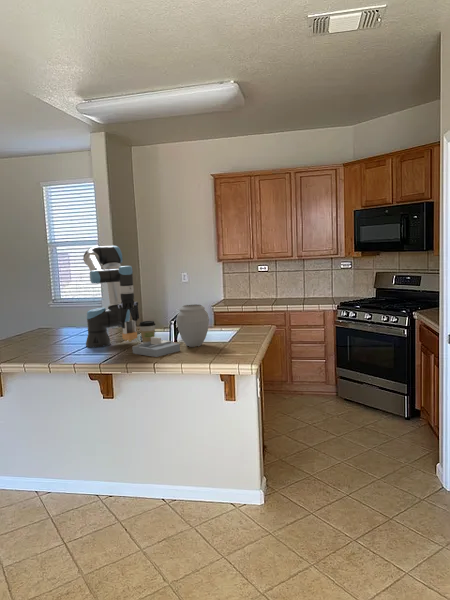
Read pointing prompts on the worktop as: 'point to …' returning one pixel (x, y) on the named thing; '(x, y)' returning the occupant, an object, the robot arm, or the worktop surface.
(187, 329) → the vase
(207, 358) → the worktop surface
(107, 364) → the worktop surface
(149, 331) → the coffee cup
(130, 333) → the plug
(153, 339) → the shutter
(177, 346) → the socket plate
